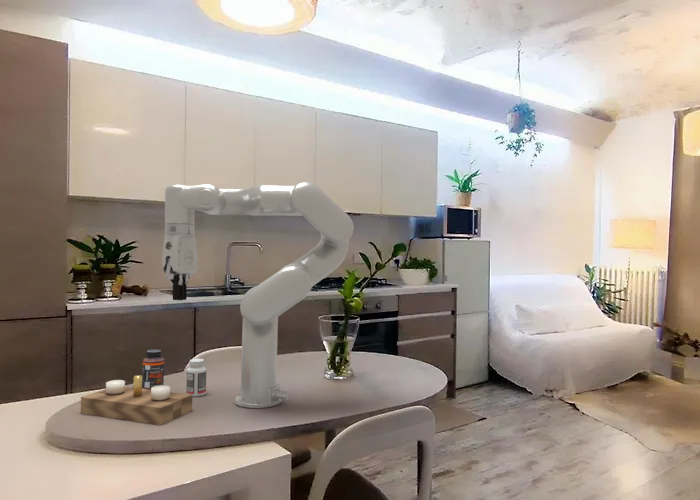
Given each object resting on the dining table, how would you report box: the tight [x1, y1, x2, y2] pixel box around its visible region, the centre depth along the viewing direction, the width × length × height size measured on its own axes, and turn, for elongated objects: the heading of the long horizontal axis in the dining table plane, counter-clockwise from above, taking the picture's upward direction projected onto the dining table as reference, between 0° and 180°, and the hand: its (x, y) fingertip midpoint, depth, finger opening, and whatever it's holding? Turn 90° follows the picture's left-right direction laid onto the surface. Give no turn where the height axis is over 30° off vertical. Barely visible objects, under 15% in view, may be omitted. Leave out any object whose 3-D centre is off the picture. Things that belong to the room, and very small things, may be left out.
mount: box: [80, 386, 193, 426], centre depth 128 cm, size 24×12×4 cm, turn 72°
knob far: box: [105, 379, 126, 395], centre depth 130 cm, size 4×4×6 cm
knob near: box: [151, 384, 171, 401], centre depth 126 cm, size 4×4×6 cm
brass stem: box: [133, 374, 142, 397], centre depth 128 cm, size 2×2×5 cm
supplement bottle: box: [142, 349, 165, 390], centre depth 150 cm, size 6×6×11 cm
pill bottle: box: [186, 358, 207, 398], centre depth 145 cm, size 5×5×10 cm
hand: (179, 299), depth 136 cm, fingers closed
